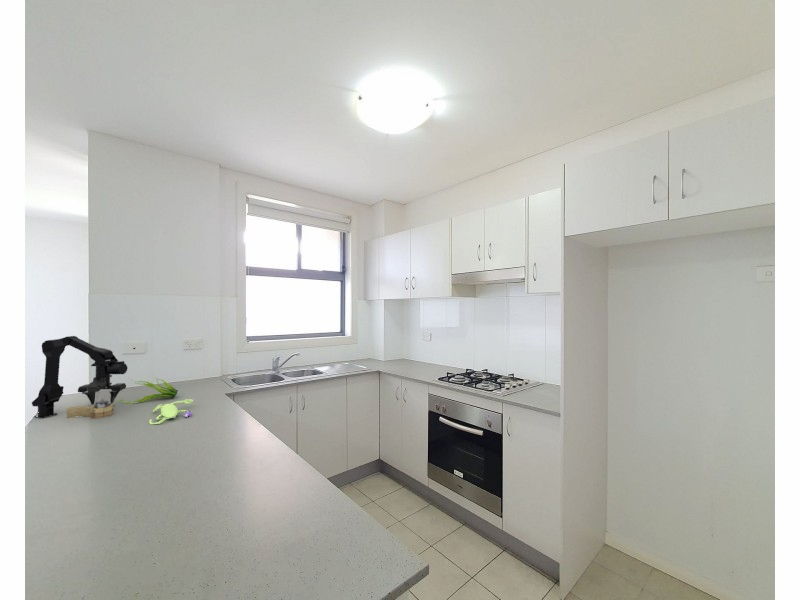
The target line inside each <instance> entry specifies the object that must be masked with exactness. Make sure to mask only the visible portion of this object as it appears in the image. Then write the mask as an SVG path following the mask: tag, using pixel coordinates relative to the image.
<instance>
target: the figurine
mask: <svg viewBox="0 0 800 600" xmlns="http://www.w3.org/2000/svg"><path fill="white" fill-rule="evenodd" d="M193 402H194V399H190V398H189V399H186V398H185V399H184V400H177V401H174V402H172V403H165V404H162V403H160V404H158V405H157V406H156V407H155V408H154V409H152V413H156V412H157V411H159V410H160V414H159V415H158V416H157V417H156V418H155V420H157V421H158V422H157V421H156V422H153V419H152V418H150V419H149V421H148V422H149V424H150V425H151V424H158V425H160V424H162V423H163V422H165V421H167V420H166V419H169V420H170V419H173V418H174V419H176V416H177V415H178V413H184V414H182V415H183V417H185V418H186V417H187V418H189V417H188V416H190V417H192V415H193V412H192V411H191V410H188V409H187V410H186V409H182V410H179V409H178V407H177V406H176V405H177V404H186V405H190V404H192V403H193ZM155 411H156V412H155Z"/></svg>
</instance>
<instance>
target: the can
mask: <svg viewBox="0 0 800 600" xmlns="http://www.w3.org/2000/svg"><path fill="white" fill-rule="evenodd" d="M105 388H107V387H105ZM110 391H112V390H111V389H100V391H98V392H96V393H95V402H94V404H93V406H95V405H96V402H100V401H101V399H103V401H109V402H110V399H111V394H110ZM110 403H111V402H110Z"/></svg>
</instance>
